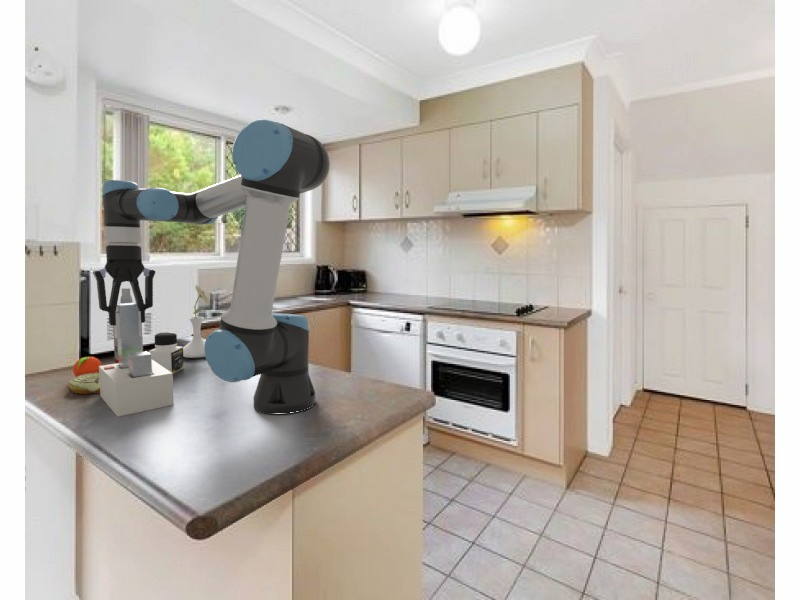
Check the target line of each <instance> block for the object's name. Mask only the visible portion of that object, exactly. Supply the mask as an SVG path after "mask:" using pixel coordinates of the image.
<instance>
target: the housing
mask: <svg viewBox="0 0 800 600" xmlns="http://www.w3.org/2000/svg"><path fill="white" fill-rule="evenodd" d="M151 360H152V359H151ZM173 375H174V374H173V373H171V372H170V371H168V370H167V369H165V368H164V367H162V366H161V365H160V364H158V363H157V362H155V361H154V360H152V375H149V376H143V377H137V378H131V377H129V368H125V369H120V368H119V363H117V364H115V363H112V364H105V365H103V364H102V366H99V378H100V393H99V394H100V398H101V399H102V400H103V401H104V403H106V404H107V406H108V407H109V409H110V410H111V411H112V412H113V413H114V414H115V416H116V417H117V418H118V417H123V416H127V415H132V414H136V413H140V412H141V413H142V412H146V411H152V410H155V409H159V408H160V409H161V408H165V407H169V405H170V406H174V405H175V404H174V403H175V401H174V398H175V397H174V376H173Z"/></svg>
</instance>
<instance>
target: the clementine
mask: <svg viewBox="0 0 800 600" xmlns="http://www.w3.org/2000/svg"><path fill="white" fill-rule="evenodd" d="M99 366H103V363H102V362H101V360H100V359H99V358H97V357H95V356H88V355H87V356H84V357H81V358H79V359H78V360H77V361H76V362H75V363H74V364H73V369H72V372H73V375H74V377H78V376H80V375H84V374H90V373H99Z"/></svg>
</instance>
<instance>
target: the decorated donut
mask: <svg viewBox="0 0 800 600" xmlns="http://www.w3.org/2000/svg"><path fill="white" fill-rule="evenodd" d="M68 387H69V388H70V390H71V391H72V392H73V393H75V394H78V393H79V394H78V395H89V394H100V378H99V373H90V374H84V375H80V376H78V377H76V376H74V377H73V378H71V379H70V380H69V382H68Z"/></svg>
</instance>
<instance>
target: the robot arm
mask: <svg viewBox="0 0 800 600" xmlns="http://www.w3.org/2000/svg"><path fill="white" fill-rule="evenodd" d="M231 149H232V150H231V159H232V163H233V164H234V168H235V171H236V172H237V174H239V175H236V176H235V177H231V178H230V179H229V178H228V179H227V180H223V181H221V182H219V183H216V184H213V185H210V186H208V187H205V188H203V189H200V190H197V191H195V192H191V193H185V192H179V191H178V192H177V191H171V190H169V189H167V188H163V187H162V188H161V187H148V188H147V187H146V188H140V187H139V185H138V184H137V182H134V181H130V180H120V179H115V180H114V179H108V180H105V181H104V182H103V185H102V188H103V189H102V191H103V192H102V204H103V217H104V218H103V219H104V231H105V236H104V237H105V243H107V244H108V245H106V246H105V251H106V257H105V258H106V263H105V265H104V267H103V268H100V269H98V270H95V269H94V270H93V271H92V274H93V276H94V278H95V279H96V289H97V297H98V305H99V306H98V307H99V310H101V311H103V312H107V313H108V323H109V325H110V326H112V327H113V325H114V334H115V338H117V339H121V337H120V317H119V312H116V307H117V304H118V300H119V296H120V289H121V286H122V283H125V282H129V284H130V286H131V290H132V293H133V296H134V300H135V304H138V321H139V336H142V337H143V330H142V331H141V323H142V324H145V322H146V310H147V309H151V308H152V307H153V306H154V298H153V297H154V277H155V274H156V270H154V269H149V268H146V267H145V265H144V264H143V262H142V261H143V258H142V257H143V256H142V247H141V245H140V244H141V243H142V238H141V236H142V235H141V221H146V222H147V221H150V222H164V223H165V222H166V223H181V224H182V223H185V224H194V225H211V224H213V223H215V222H216V220H217V219H218V218H219V217H221V216H224V215H226V214H229V213H232V212H236V211H239V210H241V209H244V216H243V220H242V222H243V223H242V229H241V233H240V234H241V235H240V239H239V248H238V254H237V259H236V261H237V262H236V268H235V273H234V281H233V287H232V288H233V289H232V293H231V295H232V296H231V301H230V307H229V309H227V310H225V311H224V312H223V313H222V314H220V315H221V316H220V323H219V328H218V329H215V330H213V331H212V332H211V333H210V334H209V335H207V337H206V339H205V340H204V341H205V347H204V350H205V357H204V358H205V359H206V363H207V364H208V366H209V367H210V370H211V371H212V372H213V374H214V375H216V376H217V377H218V378H219V379H220V380H223V381H225V382H228V383H238V382H241V381H246V380H247V381H248V380H250V379H251V378H254V377H256V376H259V375H260V377H259V379H258V383H257V385H256V389H255V391H254V396H253V408H254V410H256V411H257V410H258V411H257V412H259V411H261V412H260V413H262V412H264V413H263V414H267V413H290V412H296V411H301V410H304V409H307V408H309V407H311V406H312V405H314V403H315V404H316V402H315V401H317V400H316V398H317V397H316V391H315V388H314V386H313V382H312V380H311V376H310V372H309V370H310V369H309V364H310V363H309V361H310V360H309V355H310V354H309V353H310V352H309V347H310V345H309V344H310V343H309V341H310V340H309V339H310V337H309V334H310V329H309V320H308V318H307V317H306V315H302V314H293V313H283V312H282V313H281V312H280V313H279V312H273V307H274V302H275V296H276V290H277V285H278V278H279V272H280V267H281V262H282V255H283V249H284V244H285V237H286V232H287V228H288V227H287V226H288V220H289V214H290V210H291V209H290V208H291V206H292V205H293V204H294V203H296V202H297V201H298V200H299V199H300V195H301V194H303V193H307V192H309V191H312V190H315V189H318V188H319V186H321V185H322V184H323V183H324V182H325V180H326V179H327V177H328V175H329V173H330V172H329V171H330V164H331V163H330V161H331V160H330V156H329V154H328V152H327V149H326V147H325V146H324V144H323V143H322V142H321V141H320V140H318V139H317V138H316V137H314V136H311V135H310V134H306V133H304V132H302V131H299V130H297V129H294V128H293V127H290V126H288V125H285V124H284V123H280V122H277V121H273V120H269V119H264V118H263V119H256V120H252V121H251V122H249V123H248V124H247V125H246V126H244V127H242V128H241V129H240V131H239V132H238V134H237V135H236V137H235V139H234V142H233V144H232V148H231ZM106 273H107V274H108V275H109V276H110V277H111V278H112V284H111V285H112V286H111V292H110V297H109V302H108V301H107V292H106V282H105V279H104V278H106V276H107V275H106ZM142 273H143V276H144V299H143V295H142V291H141V287H140V282H139V279H138V278H140V276H141V274H142ZM114 334H113V335H114ZM314 406H315V405H314ZM311 408H312V407H311ZM307 410H308V409H307Z"/></svg>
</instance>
